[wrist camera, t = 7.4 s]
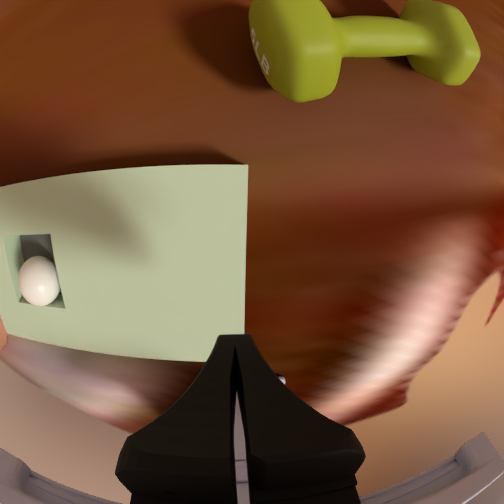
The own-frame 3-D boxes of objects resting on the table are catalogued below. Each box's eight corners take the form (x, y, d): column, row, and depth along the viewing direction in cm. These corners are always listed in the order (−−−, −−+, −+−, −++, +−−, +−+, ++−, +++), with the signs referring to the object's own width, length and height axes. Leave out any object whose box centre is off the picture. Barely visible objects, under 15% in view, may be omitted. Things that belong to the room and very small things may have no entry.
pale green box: (242, 342, 22) (250, 442, 13) (19, 321, 20) (-32, 376, 11) (245, 165, 18) (263, 165, 8) (-8, 188, 16) (-84, 212, 6)
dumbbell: (271, 117, 17) (295, 91, 10) (236, 25, 14) (240, -32, 8) (441, 92, 17) (498, 82, 10) (410, 17, 14) (456, -9, 7)
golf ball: (53, 273, 20) (75, 294, 19) (23, 298, 17) (42, 324, 16) (39, 239, 17) (59, 259, 16) (5, 266, 15) (21, 291, 13)
